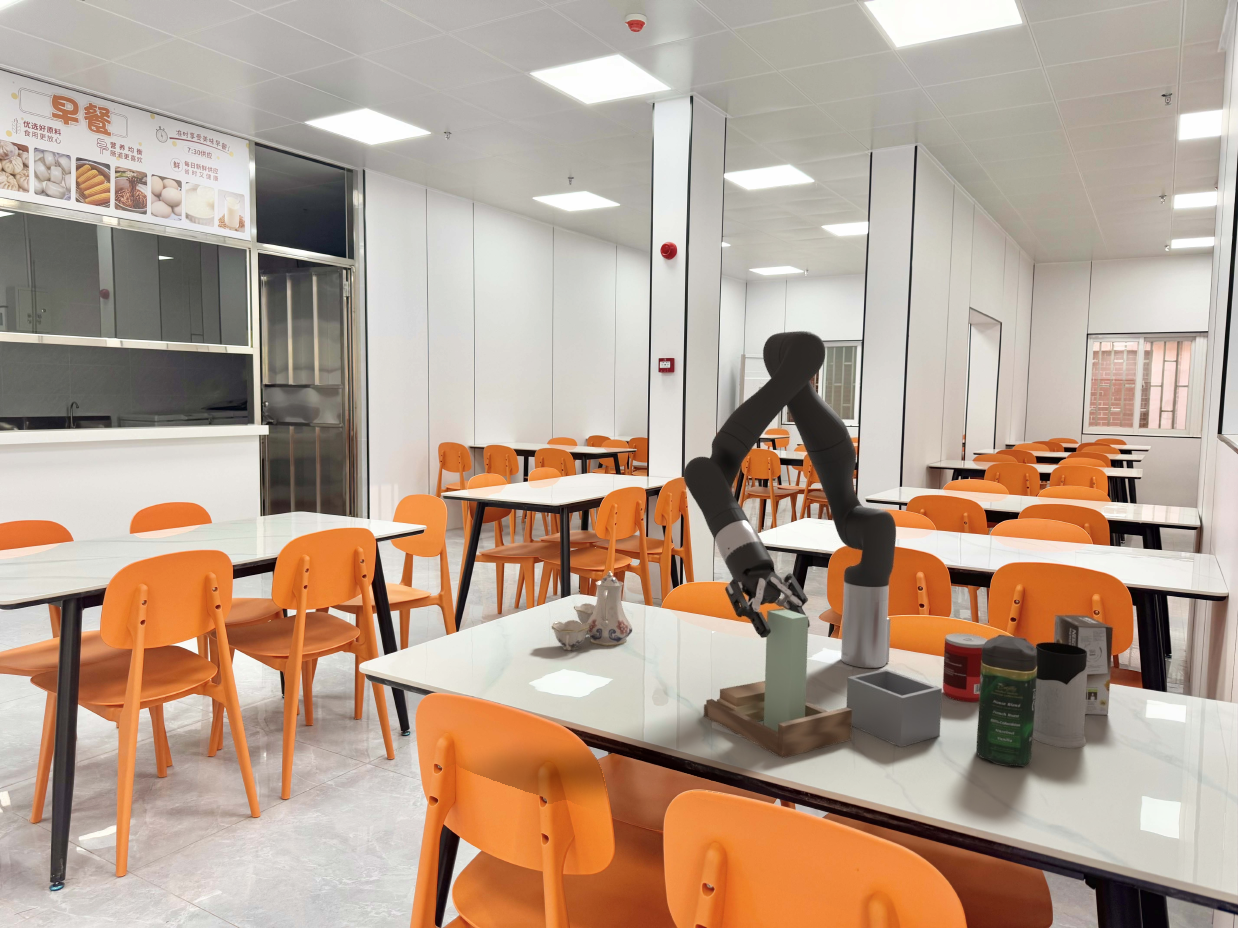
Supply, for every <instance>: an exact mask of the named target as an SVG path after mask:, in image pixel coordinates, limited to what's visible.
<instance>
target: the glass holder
mask: <svg viewBox="0 0 1238 928" xmlns="http://www.w3.org/2000/svg"><path fill="white" fill-rule="evenodd" d="M1035 648H1036V649H1037V680H1036V700H1035V714H1034V726H1033V740H1035V741H1037V742H1039V743H1043V744H1045V745H1049V746H1054V747H1058V748H1059V747H1060V748H1065V749H1067V748H1068V749H1074V748H1075V749H1076V748H1077V749H1078V748H1082V747H1085V746H1087V738H1086V737H1085V720H1086V719H1085V718H1086V714H1085V704H1086V686H1087V667H1086V663H1087V651H1086V650H1085V649H1083V648H1080V647H1077V646H1073V645H1069V644H1063V643H1054V641H1053V642H1051V641H1050V642H1046V641H1045V642H1038V643H1036V644H1035Z"/></svg>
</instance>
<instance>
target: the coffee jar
mask: <svg viewBox="0 0 1238 928" xmlns="http://www.w3.org/2000/svg"><path fill="white" fill-rule="evenodd" d="M981 659H982V660H981V676H980V695H979V701H978V715H977V716H978V717H977V719H978V720H977V729H976V730H977V731H976V752H977V754H978V756H979V757H980V758H983V759H985V760H988V761H990V762H993V763H994V764H996V765H1000V766H1019V767H1023V766H1026V765H1028V764H1029V762H1030V761H1031V759H1032V755H1033V741H1034V739H1033V726H1034V714H1035V700H1036V680H1037V649H1036V645H1033V643H1031V642H1030V641H1028V640H1027V639H1026V638H1024V637H1019V636H1014V635H1013V636H1012V635H1006V634H998V635H997V636H994V637H991V638H989V639H987V641H986V642H985V644H984V645H983V648H982V658H981Z"/></svg>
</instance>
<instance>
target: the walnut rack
mask: <svg viewBox="0 0 1238 928" xmlns="http://www.w3.org/2000/svg"><path fill="white" fill-rule="evenodd" d="M703 717H705V718H707V719H709V720H710V721H713V722H714V723H717V724H718V725H721V726H722V727H724V728H726V729H728V731H729V730H730V731H731V732H733V733H736V734H737V735H739V736H741V737H743V738H745V739H746V740H748V741H750V742H752V743H754V744H756V745H757V746H759V747H761V748H763V749H765V750H766V751H769V752H771V753H773V754H775V755H776V756H778V757H780V758H782V759H784V758H787V757H791V756H795V755H798V754H802V753H807V752H810V751H814V750H817V749H821V748H825V747H828V746H832V745H835V744H840V743H843V742H846V741H851V739H852V725H851V722H852V709H849V708H847V706H846V707H843V708H839V709H833V710H830V711H827V710H826V709H823V708H821V707H819V706H816V705H815V704H813V703H809V702H808V701H806V702H805V717H804V718H800V719H795V720H791V721H787V722H783V723H779V724H778V732H777V731H775V730H773V729H771V728H769V727H767V726H765V725H764V723H762V722H759V721H755V720H753V719H751V718H749V717H747V716H745V715H743V714H741V713H739V712H737V711H735V710H733V709H731V708H729V707H727V706H725V705H723V704H721V703H719V702H717V700H715V699H713V698H710V699H709V698H708V699H706V700H705V704H703Z"/></svg>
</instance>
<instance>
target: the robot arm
mask: <svg viewBox="0 0 1238 928" xmlns="http://www.w3.org/2000/svg"><path fill="white" fill-rule="evenodd" d="M824 343H825V342H824V340H822V338H821V337H820V336H819V335H818V334H816V333H815V332H811V331H805V330H800V331H799V330H797V331H787V332H786V331H785V332H779V333H778V332H777V333H775V334H772V335H770V336H769V337H768V338H767V340H766V341H765V342H764V345H763V349H762V357H763V363H764V367H765V369H766V371H767V373H768V375H769V377H770V379H769V380H768V381H767V382H766V383H765V384H763V385H762V387H760V388H759V389H758V390H757V391H756V392H755V393H753V394H751V396H750V397H748V398H747V399H746V400H745V401H744V402H743V403H741V404H740V405H739V406H737V407H736V409H734V411H733V412H732V413H731V414H730V416H728V418H727V419H726V420H725V422H724V423H723V424H722V426H721V428H720V429H719V430H718V432H717V433H716V435H715V436H714V438H713V439H712V441H711V442H712V443H711V455H710V457H707V456H698V457H695V458H692V459H691V460H690V461H689V462H688V463H686V466H685V468H684V471H683V480H684V484H685V486H686V487H687V489H688V491H689V492H690V495H691V496H692V498H693V500H694V501H695V502H696V504H697V506H698V507H699V510H700V511H701V513H702V515H703V518H704V521H705V522H706V525H707V527H708V529H709V532H710V534H711V536H712V537H713V539H714V541H715V543H716V546H717V549H718V553H719V554H720V556H721V557H722V560H723V561H724V563H725V565H726V568H727V569H728V572H729V573H730V575H731V577H732V578H733V579H731V580H730V581H729V583H728V584H727V585H726V587H724V590H725V593H726V595H727V597H728V600H729V602H730V604H731V606H732V609H733V611H734V612H735V613H734V614H735V615H736V616H737V617H738V618H742V617H746V618H747V620H749V621H750V622H751V624H752V625H753V626H752V627H753V628H754V630H755V632H756V634H758V636H759V637H760V638H761V639H762V638H763V639H764V638H766V637H767V636H768V635H769V634H770V633H771V629H770V627H769V625H768V624H767V619H766V618H765V616H764V614H763V612H762V611H760V609H761V606H764V605H766V604H771V605H772V604H775V605H776V606H778V607H780V608H783V609H787V610H790V611H793V612H796V613H799V614H803V615H806V613H805V611H804V608H803V606H804V605H806V604H807V602H808V601H809V598H808V597H807V594H806V593H805V592H804V589H802V587H801V585H800V584H799V582H798V581H797V579H796V577H795V576H794V574H793V573H791V572H788V573H787V574H786V575H785V576H779V575H778V574H777V573H776V571H775V562H774V560H773V558H772V556H771V555H770V553H769V551H768V549H767V548H766V546H765V544H764V541H762V539H761V537H760V535H759V533H758V531H757V530H756V529H755V528H754V526H753V525H752V524H751V522H750V520H749V519H748V517H747V515H746V513H745V511H744V510H743V508H742V506H741V505H740V504H739V501H737V499H736V498H735V496H734V494H733V492H732V489H731V488H732V486H733V485H734V483H735V480H736V478H737V476H738V474H739V472H740V469H741V467H742V464H743V461H744V460H745V458H746V457H747V456H748V454H749V453H750V452H751V450H752V449H753V447H754V446H755V444H757V442H758V441H759V439H760V438H761V436H762V434H764V432H765V431H766V429H767V428H768V427H769V425H771V423H772V422H773V421H774V419H776V417H777V416H778V415H779V414H780V412H781V411H782V410H783V409H785V407H787V409H788V411H789V414H790V416H791V418H792V420H793V423H794V425H795V427H796V429H797V431H798V434H799V435H800V439H801V441H802V443H803V446H804V448H805V452H806V453H807V456H808V458H809V460H810V462H811V464H812V466H813V468H814V471H815V472H816V475H817V478H818V480H819V483H820V486H821V488H822V491H823V493H824V494H825V498H826V500H827V504H828V507H829V510H830V513H831V515H832V519H833V524H834V527H835V529H836V532H837V535H838V537H839V539H840V541H841V542H842V543H843V545H845V546H847V547H848V548H851V549H853V550H859V551H861V557H860V561H859V563H858V564H855V565H849V566H847V567H846V568H845V570H844V574H843V600H842V601H843V602H842V603H843V604H842V625H841V626H842V627H841V630H842V631H841V648H840V649H841V655H840V657H841V658H840V660H841V662H843V663H844V664H847V665H849V666H852V667H853V666H854V667H858V668H866V669H867V668H868V669H875V668H881V667H884V666H886V664H888V663H889V662H890V645H891V644H890V642H891V641H890V640H891V618H889V617H888V616H889V590H890V577H891V575H892V572H893V569H894V559H895V552H896V550H895V549H896V542H897V541H896V540H897V539H896V538H897V527H896V522H895V519H894V516H893V514H892V513H890V512H889V511H888V510H884V509H881V508H872V507H866V506H865V507H864V506H863V504H861V502H860V500H859V498H858V496H857V494H856V493H857V492H856V491H855V488H854V484H853V483H854V482H853V479H854V474H855V473H854V472H855V469H856V463H857V451H856V447H855V444H854V442H853V440H852V437H851V435H850V433H849V432H850V431H849V429H848V427H847V425H846V424H845V422H844V421H843V419H842V418H841V417H840V415H839V414H838V413H837V412H836V411H835V410H834V409H833V408H832V407H831V406H830V405H829V403H827V402H826V401H825V400H824V399H823V398H822V396H821V395H820V394H819V393H818V392H817V391H816V389H815V387H814V386H813V383H812V382H811V380H812V379H813V378H814V377H815V376H817V375H816V374H818V372H819V371H820V370H821V368H822V366H823V365H824V362H825V359H826V346H825V344H824ZM781 595H783V596H782V597H781ZM745 596H746V597H747V599H746V597H745ZM788 601H789V602H788ZM806 616H807V615H806ZM810 623H811V622H810V619H809V618H808V629H809V628H810Z"/></svg>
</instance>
